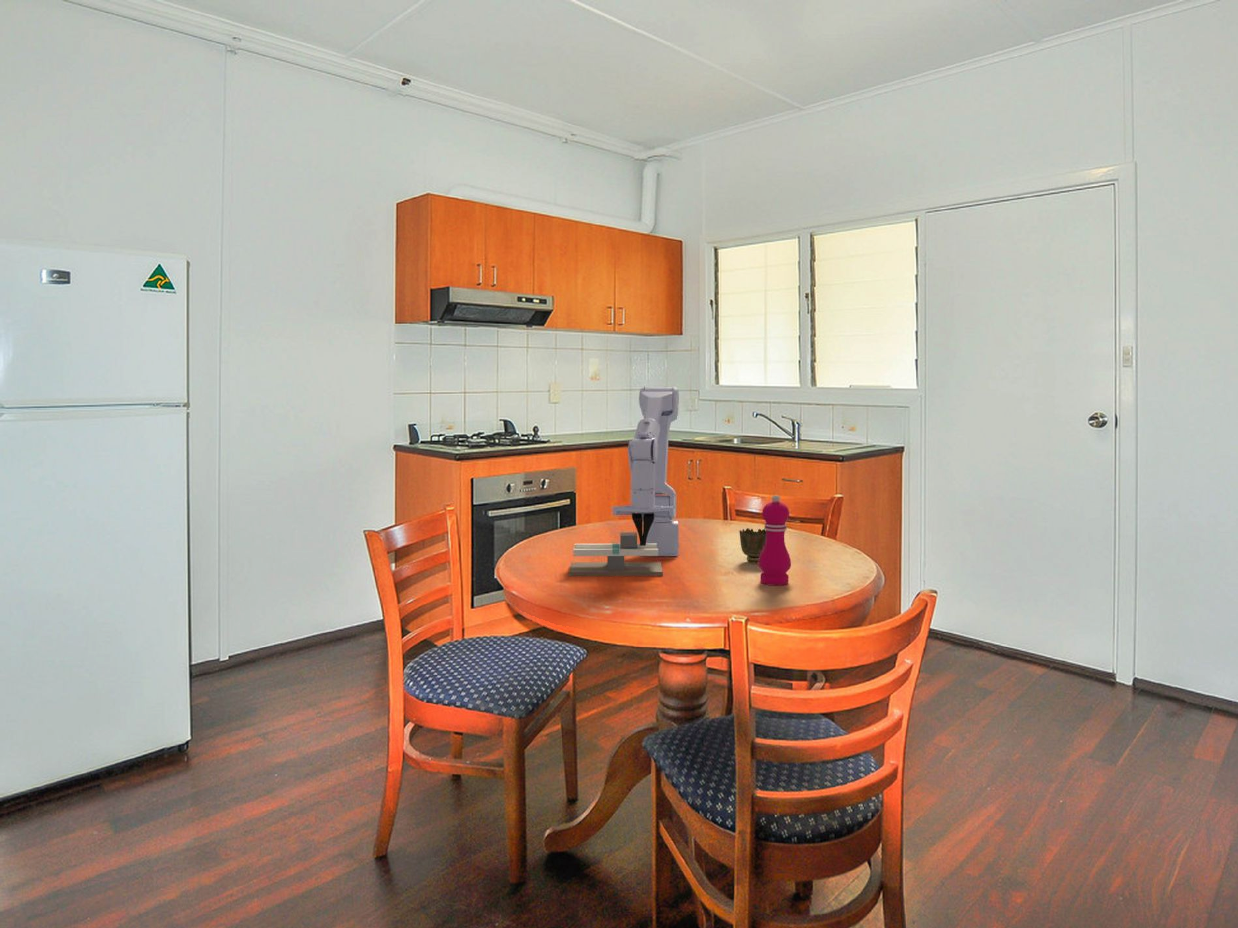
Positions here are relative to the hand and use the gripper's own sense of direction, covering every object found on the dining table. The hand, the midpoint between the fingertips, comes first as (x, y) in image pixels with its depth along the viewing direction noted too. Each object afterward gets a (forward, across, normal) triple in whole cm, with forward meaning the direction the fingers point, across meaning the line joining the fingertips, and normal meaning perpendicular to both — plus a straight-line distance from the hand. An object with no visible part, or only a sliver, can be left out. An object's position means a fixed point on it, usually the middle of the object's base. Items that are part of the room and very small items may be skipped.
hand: (642, 544), depth 188 cm
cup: (+7, +28, +9) cm, 31 cm away
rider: (+1, -3, 0) cm, 4 cm away
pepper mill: (+7, +30, -11) cm, 32 cm away
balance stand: (+6, -6, 0) cm, 9 cm away
